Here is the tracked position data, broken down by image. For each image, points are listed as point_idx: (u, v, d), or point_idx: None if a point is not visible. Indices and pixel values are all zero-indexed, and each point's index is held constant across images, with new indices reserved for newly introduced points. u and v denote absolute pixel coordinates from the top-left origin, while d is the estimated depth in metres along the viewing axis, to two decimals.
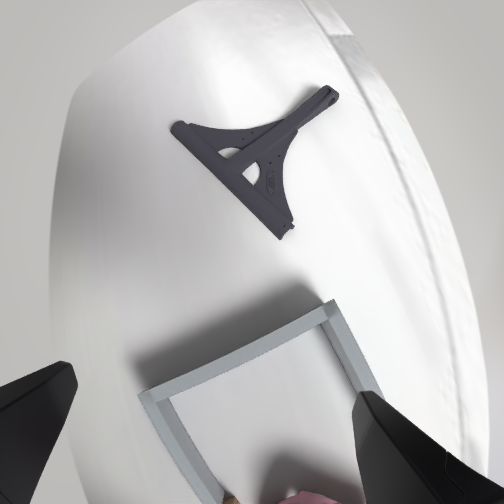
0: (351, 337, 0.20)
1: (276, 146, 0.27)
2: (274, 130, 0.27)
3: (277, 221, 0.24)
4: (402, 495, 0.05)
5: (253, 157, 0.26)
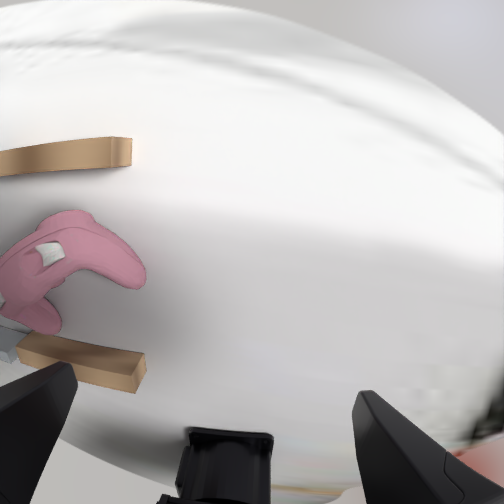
0: None
1: None
2: None
3: None
4: (402, 495, 0.05)
5: None
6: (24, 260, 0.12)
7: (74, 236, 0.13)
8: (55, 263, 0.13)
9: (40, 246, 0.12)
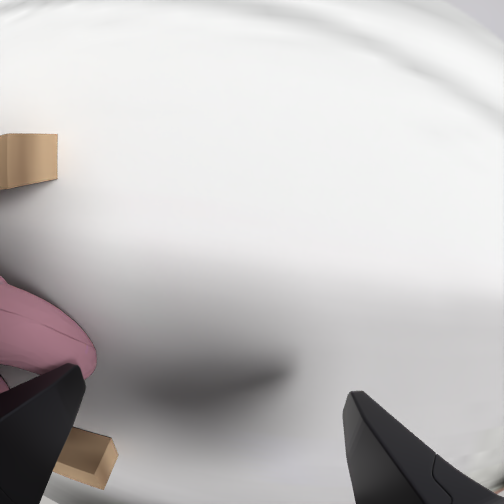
0: None
1: None
2: None
3: None
4: (390, 497, 0.05)
5: None
6: None
7: None
8: None
9: None
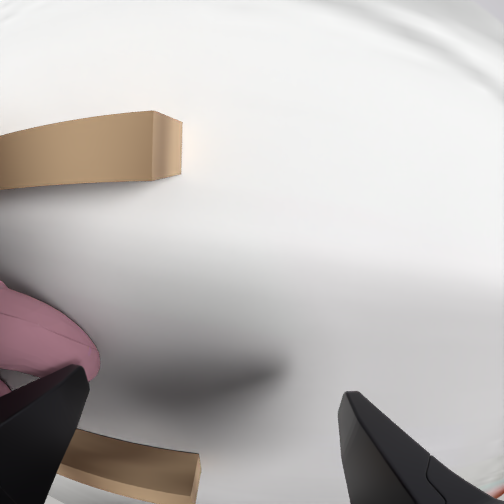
0: None
1: None
2: None
3: None
4: (384, 499, 0.05)
5: None
6: None
7: None
8: None
9: None
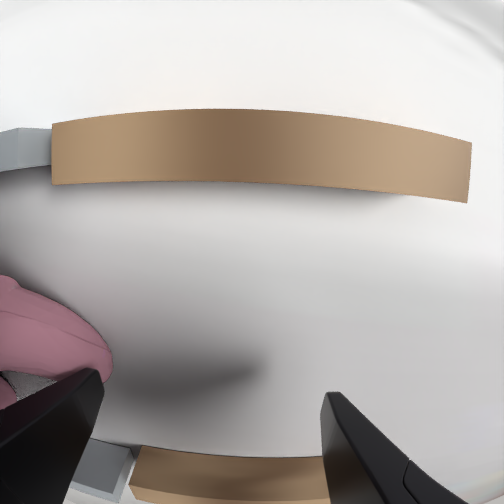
0: None
1: None
2: None
3: None
4: (360, 502, 0.05)
5: None
6: None
7: None
8: None
9: None
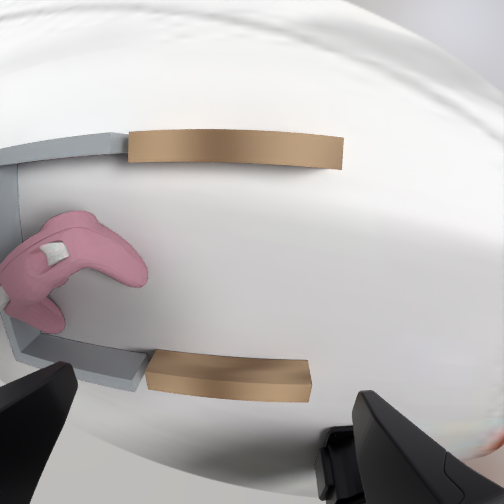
0: (6, 150, 0.13)
1: None
2: None
3: None
4: (402, 495, 0.05)
5: None
6: (29, 259, 0.13)
7: (78, 236, 0.13)
8: (59, 262, 0.13)
9: (45, 246, 0.13)
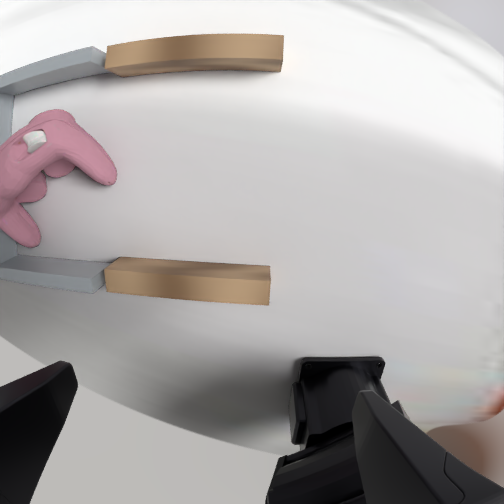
0: (6, 75, 0.14)
1: None
2: None
3: None
4: (402, 495, 0.05)
5: None
6: (12, 149, 0.13)
7: (56, 125, 0.14)
8: (37, 149, 0.13)
9: (27, 134, 0.13)
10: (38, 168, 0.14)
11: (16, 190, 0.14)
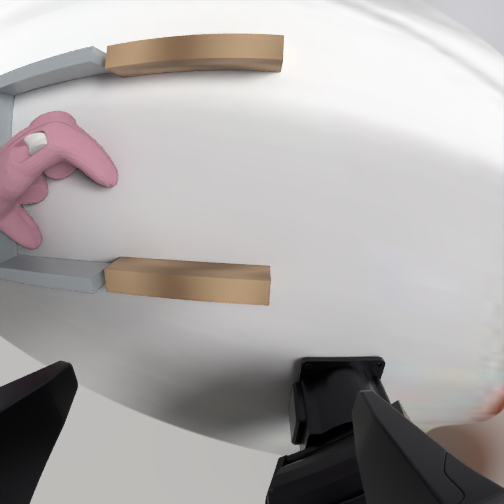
0: (6, 75, 0.14)
1: None
2: None
3: None
4: (402, 495, 0.05)
5: None
6: (13, 151, 0.13)
7: (57, 127, 0.14)
8: (38, 151, 0.13)
9: (28, 136, 0.13)
10: (39, 170, 0.14)
11: (17, 192, 0.14)
